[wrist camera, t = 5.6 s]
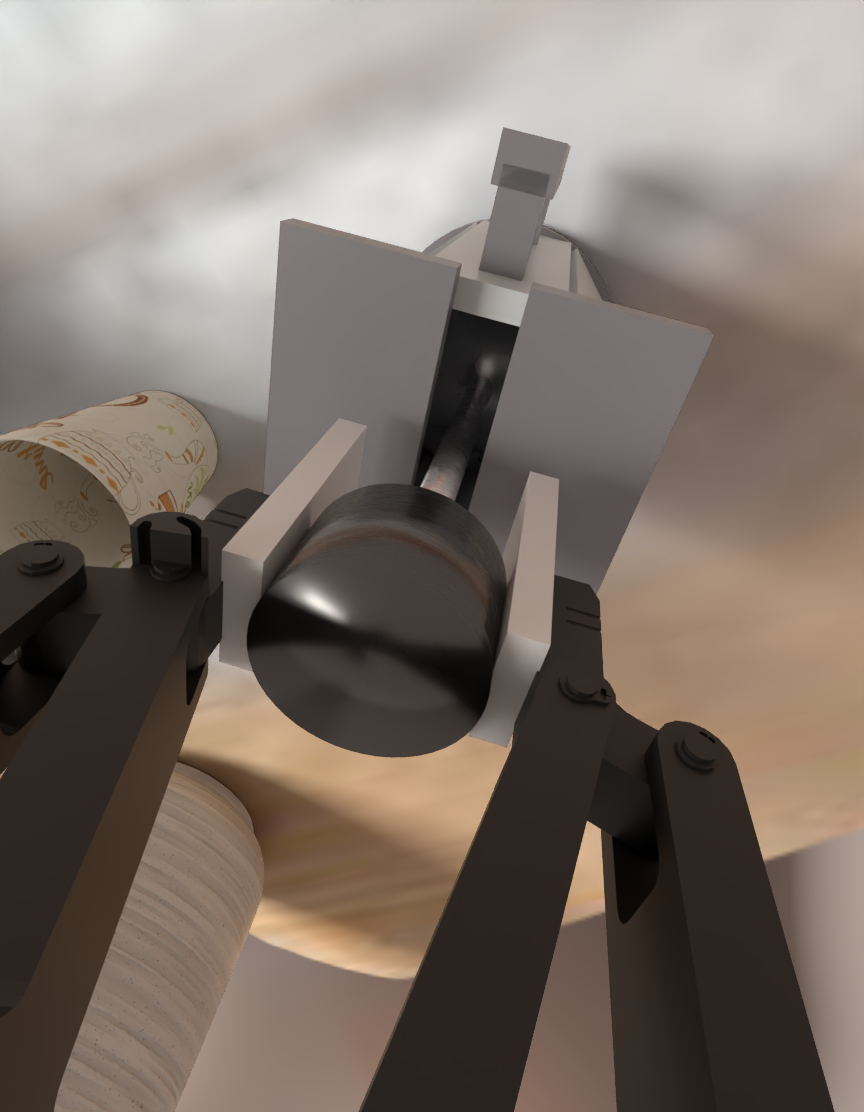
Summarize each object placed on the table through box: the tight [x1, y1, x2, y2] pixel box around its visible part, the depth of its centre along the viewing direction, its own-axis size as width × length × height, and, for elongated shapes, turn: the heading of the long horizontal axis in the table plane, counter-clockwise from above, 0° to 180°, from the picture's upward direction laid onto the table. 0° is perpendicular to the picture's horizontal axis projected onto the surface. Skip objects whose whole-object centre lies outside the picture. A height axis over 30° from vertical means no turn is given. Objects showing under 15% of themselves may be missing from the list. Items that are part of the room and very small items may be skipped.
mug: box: [0, 390, 218, 568], centre depth 33 cm, size 8×13×10 cm, turn 15°
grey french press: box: [263, 127, 714, 594], centre depth 23 cm, size 11×14×15 cm
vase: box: [54, 762, 265, 1112], centre depth 43 cm, size 20×20×34 cm
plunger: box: [247, 309, 520, 757], centre depth 18 cm, size 7×7×17 cm
